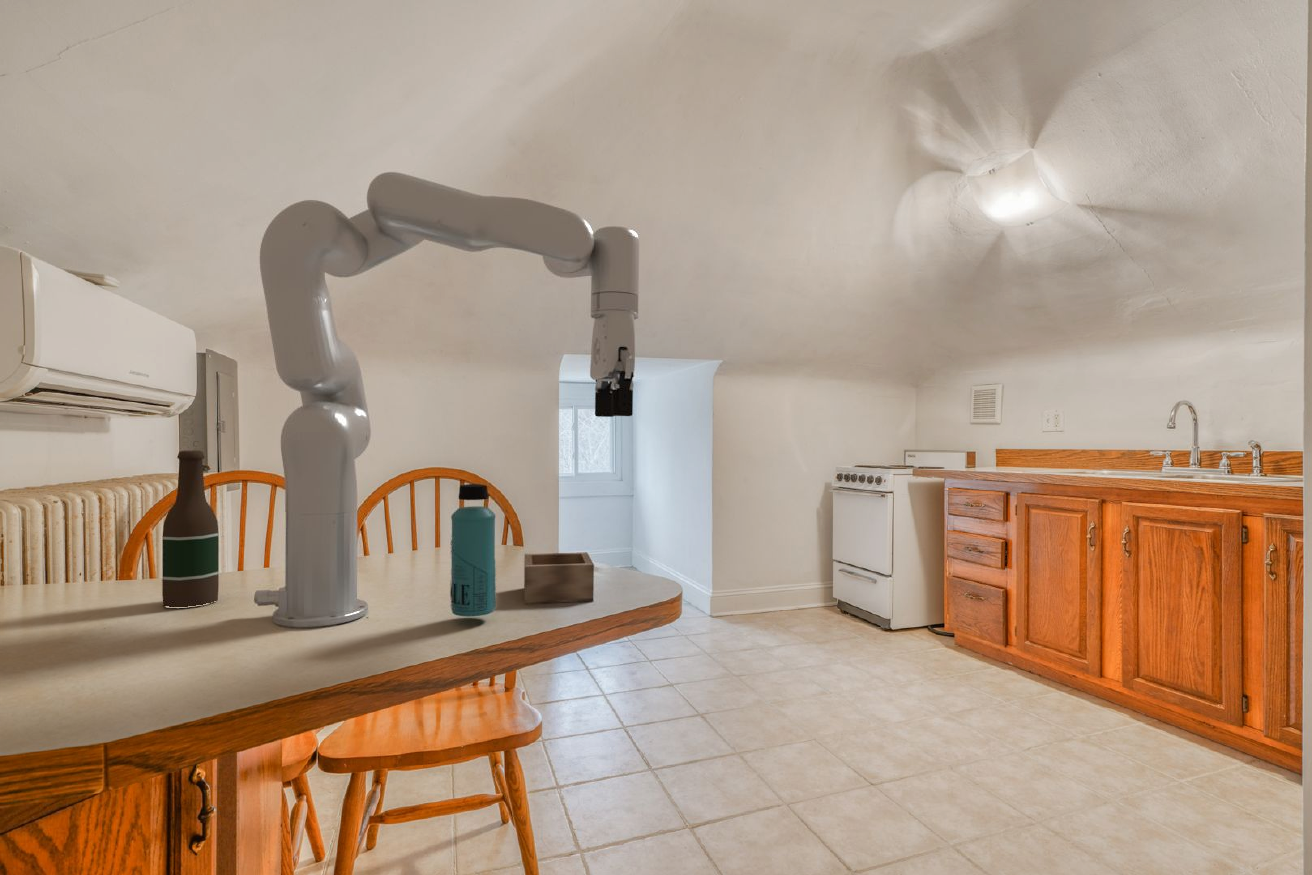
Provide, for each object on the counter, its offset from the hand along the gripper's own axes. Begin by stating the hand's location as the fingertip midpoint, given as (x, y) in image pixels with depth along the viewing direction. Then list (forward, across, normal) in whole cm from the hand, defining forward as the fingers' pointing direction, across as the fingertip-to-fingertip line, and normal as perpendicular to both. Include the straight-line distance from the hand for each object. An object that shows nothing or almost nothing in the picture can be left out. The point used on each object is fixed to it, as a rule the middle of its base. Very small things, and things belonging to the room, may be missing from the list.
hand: (612, 416), depth 108 cm
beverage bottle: (+31, +2, -21) cm, 37 cm away
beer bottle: (+31, -21, -62) cm, 73 cm away
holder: (+30, -10, -6) cm, 32 cm away
